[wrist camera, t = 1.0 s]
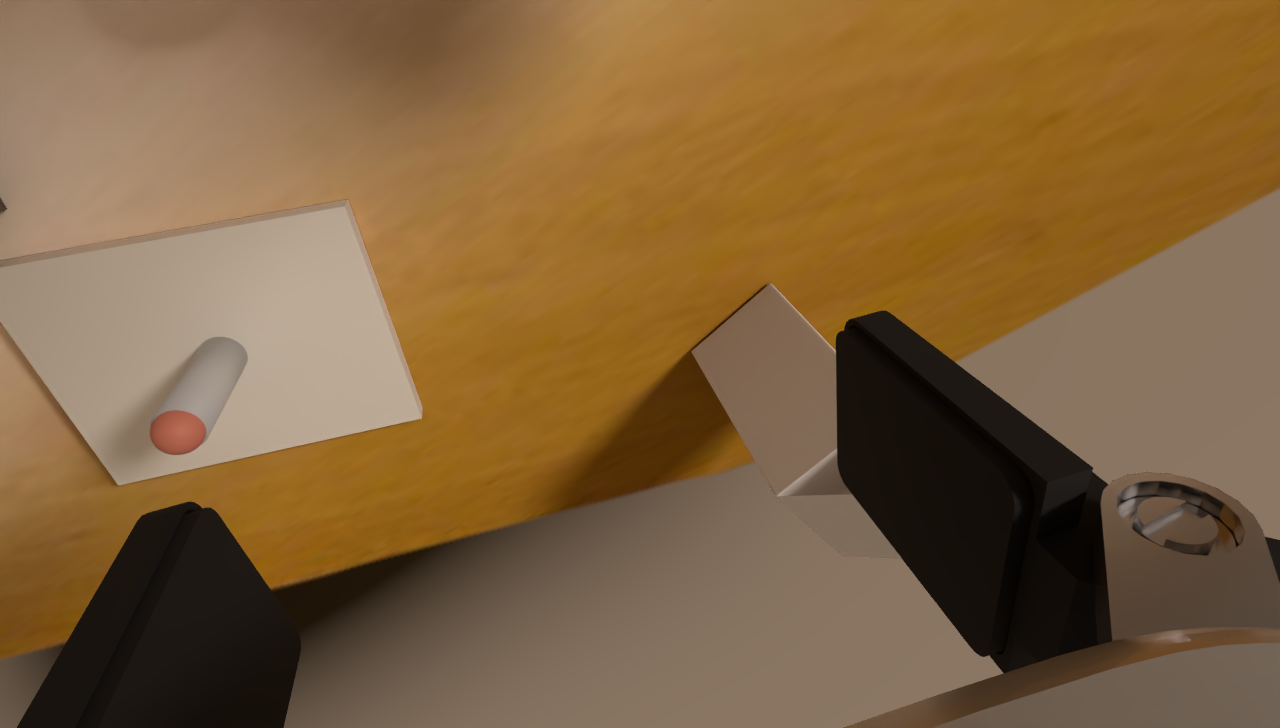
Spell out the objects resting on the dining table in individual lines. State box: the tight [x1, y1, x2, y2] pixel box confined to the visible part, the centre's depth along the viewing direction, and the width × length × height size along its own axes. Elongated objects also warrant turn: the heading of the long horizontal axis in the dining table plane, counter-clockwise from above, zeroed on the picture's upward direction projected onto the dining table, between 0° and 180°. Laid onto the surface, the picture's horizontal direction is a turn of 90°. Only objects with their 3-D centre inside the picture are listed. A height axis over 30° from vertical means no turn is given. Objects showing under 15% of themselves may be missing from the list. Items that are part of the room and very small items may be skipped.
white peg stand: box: [0, 199, 423, 485], centre depth 35 cm, size 14×18×10 cm
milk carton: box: [691, 284, 902, 559], centre depth 39 cm, size 7×7×19 cm
